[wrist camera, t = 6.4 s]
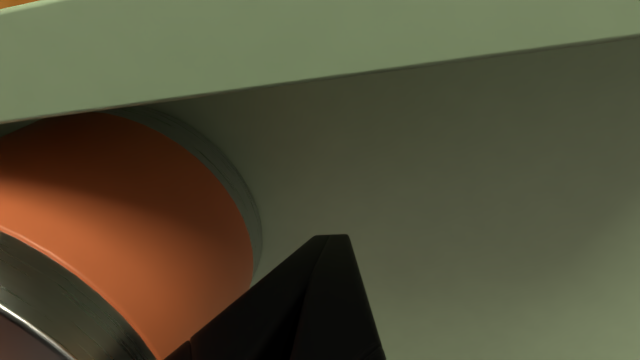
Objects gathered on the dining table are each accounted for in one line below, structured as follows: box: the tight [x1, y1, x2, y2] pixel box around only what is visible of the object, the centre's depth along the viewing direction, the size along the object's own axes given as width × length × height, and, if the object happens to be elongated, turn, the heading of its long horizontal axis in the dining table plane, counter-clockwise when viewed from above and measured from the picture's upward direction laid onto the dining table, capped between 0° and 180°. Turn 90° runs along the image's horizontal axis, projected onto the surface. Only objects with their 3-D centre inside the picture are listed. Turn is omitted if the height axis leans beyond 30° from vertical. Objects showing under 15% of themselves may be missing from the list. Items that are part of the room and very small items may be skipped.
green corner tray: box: [0, 0, 640, 360], centre depth 10 cm, size 19×15×6 cm
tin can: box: [0, 105, 263, 360], centre depth 9 cm, size 7×7×6 cm
